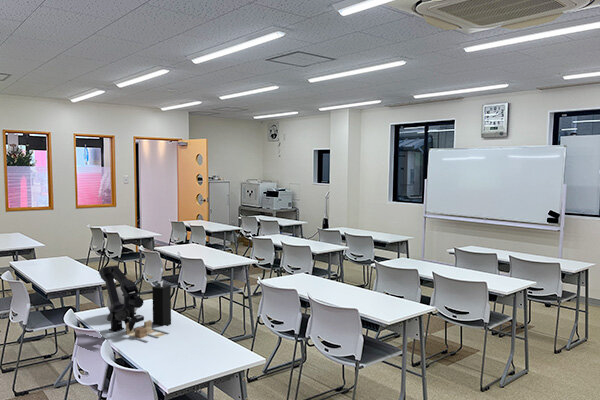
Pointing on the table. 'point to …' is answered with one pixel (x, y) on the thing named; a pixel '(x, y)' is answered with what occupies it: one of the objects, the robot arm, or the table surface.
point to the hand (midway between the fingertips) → (129, 330)
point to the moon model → (121, 298)
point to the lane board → (149, 335)
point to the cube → (140, 332)
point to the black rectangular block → (162, 304)
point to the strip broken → (149, 328)
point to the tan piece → (130, 331)
